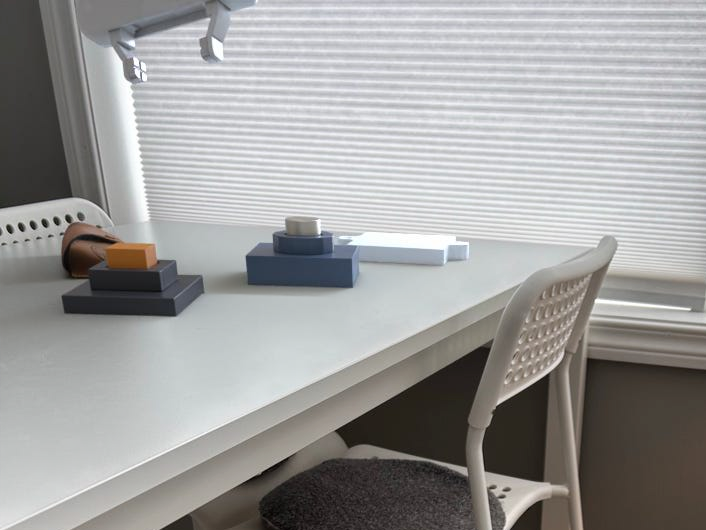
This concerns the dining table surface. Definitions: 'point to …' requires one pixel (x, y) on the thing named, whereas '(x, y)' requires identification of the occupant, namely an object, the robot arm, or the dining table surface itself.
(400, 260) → the mounting plate
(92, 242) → the sunglasses case
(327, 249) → the key block
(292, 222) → the silver short cylinder
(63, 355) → the dining table surface
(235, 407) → the dining table surface
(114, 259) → the orange square flat block
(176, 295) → the key block
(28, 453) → the dining table surface
